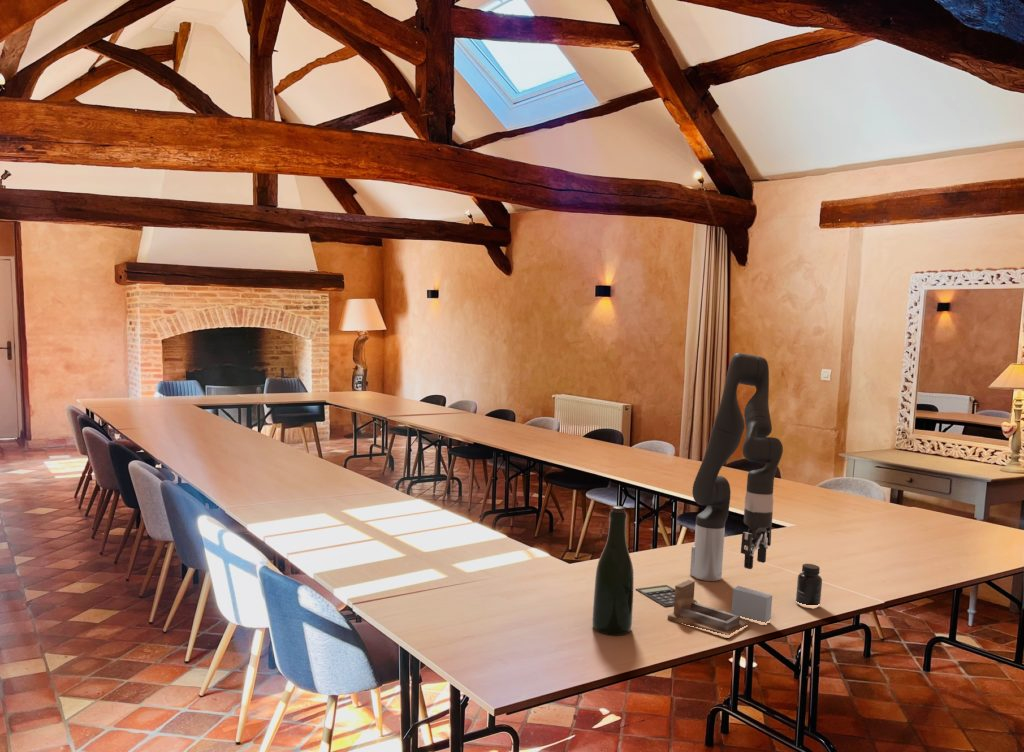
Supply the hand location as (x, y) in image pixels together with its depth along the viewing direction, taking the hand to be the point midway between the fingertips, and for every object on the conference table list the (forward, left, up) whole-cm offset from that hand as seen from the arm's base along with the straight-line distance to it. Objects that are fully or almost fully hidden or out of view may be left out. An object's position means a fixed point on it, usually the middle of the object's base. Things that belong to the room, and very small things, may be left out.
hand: (754, 565), depth 216 cm
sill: (-7, -12, -16) cm, 21 cm away
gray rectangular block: (0, 0, -16) cm, 16 cm away
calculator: (-26, -2, -16) cm, 31 cm away
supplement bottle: (+7, +24, -16) cm, 29 cm away
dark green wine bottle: (-23, -35, -16) cm, 45 cm away
